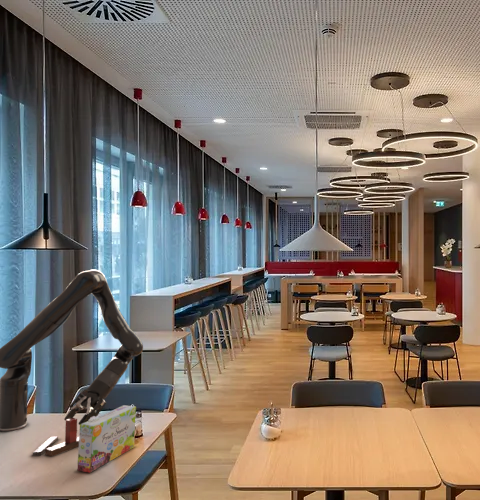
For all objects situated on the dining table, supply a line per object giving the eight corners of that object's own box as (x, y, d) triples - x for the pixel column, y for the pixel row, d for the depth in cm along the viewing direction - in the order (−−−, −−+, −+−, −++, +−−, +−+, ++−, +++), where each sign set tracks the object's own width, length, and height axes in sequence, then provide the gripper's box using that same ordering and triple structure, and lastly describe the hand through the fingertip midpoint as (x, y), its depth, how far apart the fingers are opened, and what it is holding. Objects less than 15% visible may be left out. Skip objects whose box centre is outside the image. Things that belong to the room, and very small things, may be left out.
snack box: (91, 473, 147) (93, 425, 147) (76, 471, 148) (78, 424, 148) (135, 447, 168) (136, 405, 168) (121, 445, 169) (123, 404, 169)
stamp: (45, 454, 160) (46, 425, 160) (87, 438, 175) (88, 411, 175) (51, 456, 158) (52, 427, 159) (94, 440, 173) (95, 413, 173)
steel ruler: (32, 455, 159) (32, 452, 159) (50, 440, 172) (50, 436, 173) (40, 455, 159) (40, 451, 159) (58, 439, 173) (58, 436, 173)
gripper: (86, 376, 179) (54, 414, 168) (109, 381, 172) (78, 421, 162) (98, 386, 183) (68, 424, 173) (122, 392, 177) (92, 432, 166)
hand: (73, 423), depth 167 cm, fingers open, 8 cm apart
